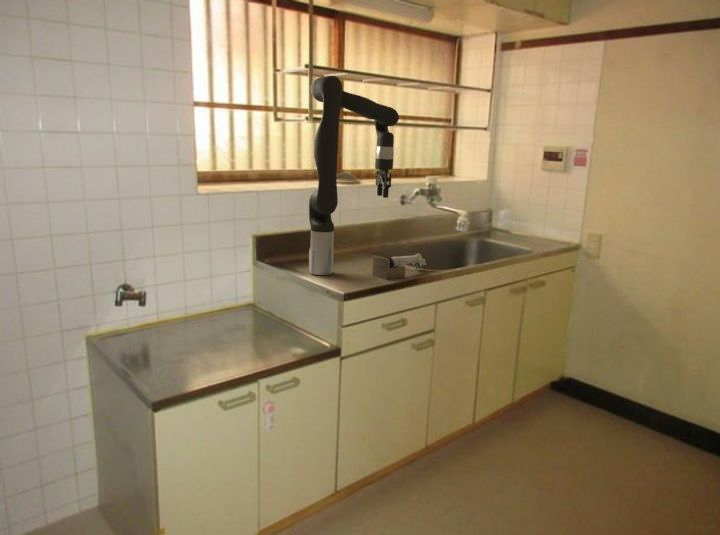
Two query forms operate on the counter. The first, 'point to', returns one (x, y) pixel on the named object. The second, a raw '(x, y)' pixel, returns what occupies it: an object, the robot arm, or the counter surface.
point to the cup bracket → (386, 269)
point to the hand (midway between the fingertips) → (382, 196)
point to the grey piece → (407, 261)
